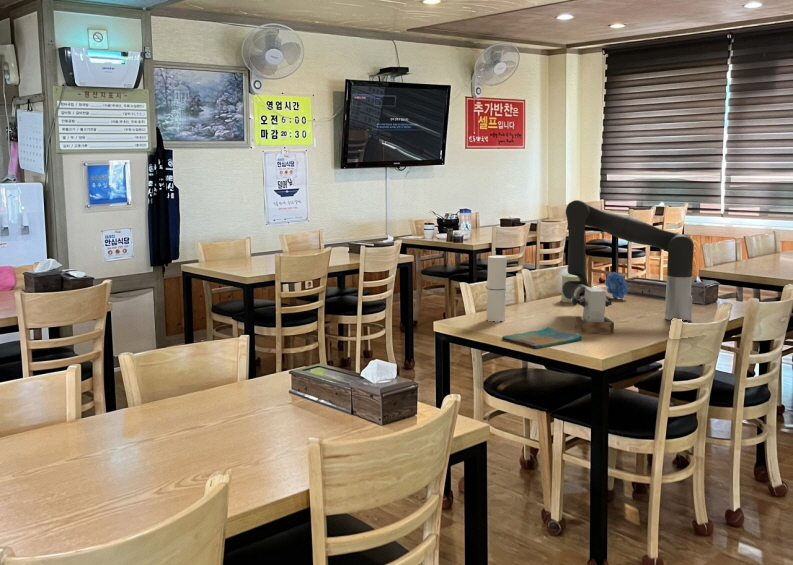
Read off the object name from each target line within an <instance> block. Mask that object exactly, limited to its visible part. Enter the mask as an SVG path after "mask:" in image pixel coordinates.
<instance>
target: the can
mask: <svg viewBox="0 0 793 565" xmlns="http://www.w3.org/2000/svg"><path fill="white" fill-rule="evenodd" d="M567 281H580V279H579V277H578V276H575V275H571V274H569V273H565V274H561V289H562V288H563V285H564V283H565V282H567ZM562 301H563V303H567V302H571V299H568V298H566V297H565V296H564V294H563V291H562V290H561V298H560V302H562Z"/></svg>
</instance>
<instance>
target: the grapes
mask: <svg viewBox="0 0 793 565" xmlns="http://www.w3.org/2000/svg"><path fill="white" fill-rule="evenodd" d="M604 285H605V286H606V287H607V288H606V293H607V294H610V295H612V298H614V299H618V298H619V299H620V300H623V298H625V295H627V294H628V288H627V287H628V285H629V284H628V281H626V280H624V276H623V275H622V274H620V273H619V274H618V273H617V272H615V271H612V272H611V274H610V273H609V274H606V280H605V281H604Z"/></svg>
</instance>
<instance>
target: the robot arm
mask: <svg viewBox="0 0 793 565" xmlns="http://www.w3.org/2000/svg"><path fill="white" fill-rule="evenodd" d="M565 215H566V222H567V228H568V231H567V232H568V248H567V274H571V275H575V276H578V277H579V279H580V281H567V282H565V283H564V285H563V288H562V287H561V292H562V291H563V294H564V296H565V297H566V298H568V299H571V303H570V304H572V305H574V306H577V305H578V306H581V307H582V308H584V307H585V300H584V298H585V287H590V286H589V282H588V278H587V274H586V245H585V244H586V242H585V228H586V226H587V227H592V228H594V229H598V230H600V231H602V232H605V233H606V234H608V235H611V236H613V237H615V238H617V239H621V240H622V241H623V240H624V241H627V242H630V243H634V244H638V245H644V246H649V247H654V248H657V249H661V250H663V251H664V252H667V262H666V263H667V266H666V269H667V271H666V285H665V286H666V287H665V289H666V290H665V303H664V305H665V306H664V319H666V320H668V321H672V320H671V319H673V318H677V319H682V320H683V321H682V322H685V321H684V320H687V321H692V314H693V313H692V312H693V300H694V299H693V296H692V281H693V266H694V265H693V263H694V250H695V249H694V246H695V245H694V241H693V240H692V239H693V238H691V237H690V236H689V235H687V234H683V233H677V232H673V231H668V230H664V229H661V228H659V227H656V226H654V225H652V224H650V223H647V222H644V221H642V220H639V219H636V218H634V217H632V216H631V217H630V216H627V215H623V214H620V213H619V214H618V213H615V212H614V213H613V212H610V211H609V212H608V211H603V210H601V209H598V208H596V207H594V206H591V205H590V204H587V203H586V202H584V200H580V199H579V200H578V199H575V200H572V201H570V202H569V203H568V204H567V206H566V208H565ZM612 300H613V297H610V296H608V295H606V303H605V308H608V307H610V306H612Z"/></svg>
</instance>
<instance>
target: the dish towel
mask: <svg viewBox="0 0 793 565" xmlns="http://www.w3.org/2000/svg"><path fill="white" fill-rule="evenodd" d="M582 339H583V335H581V334H580V333H572V332H566V331H561V330H556V329H554V328H552V327H549V326H547V327H546V328H543V329H541V330H537V331H536V330H531V331H526V332H521V333H518V332H517V333H513V334H508V335H503V336H502V338H501V341H504V342H508V343H512V344H516V345H519V346H521V347H527V348H530V349H535V350H539V349H544V348H550V347H555V346H559V345H566V344H570V343H575V342H579V341H582Z"/></svg>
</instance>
